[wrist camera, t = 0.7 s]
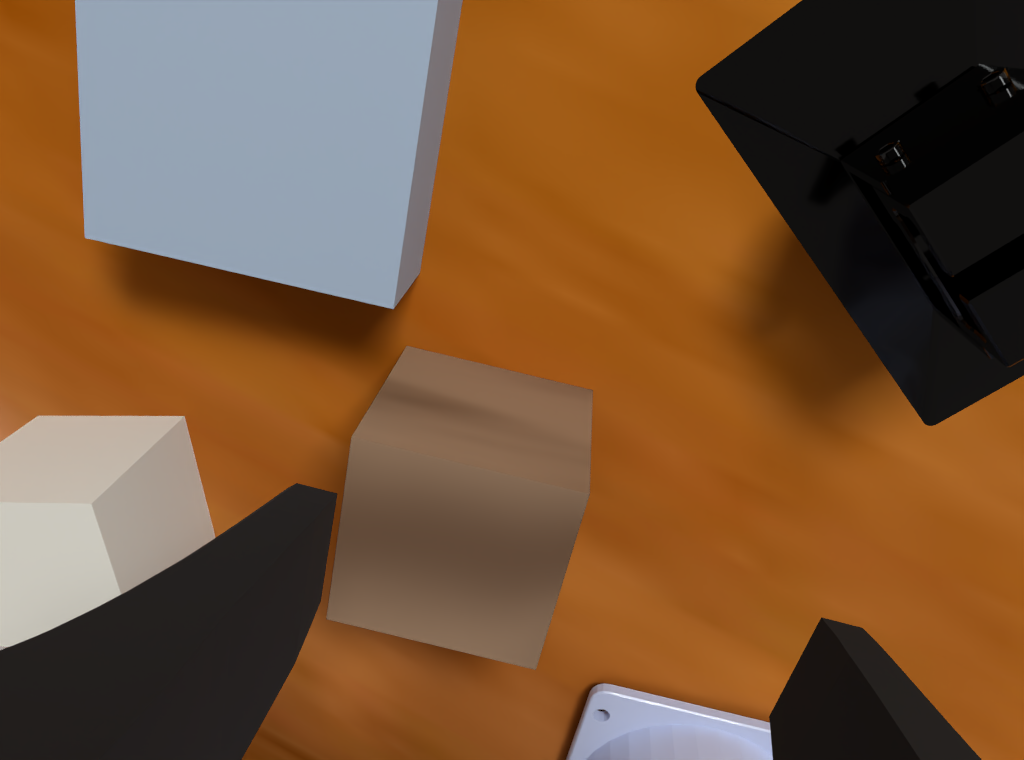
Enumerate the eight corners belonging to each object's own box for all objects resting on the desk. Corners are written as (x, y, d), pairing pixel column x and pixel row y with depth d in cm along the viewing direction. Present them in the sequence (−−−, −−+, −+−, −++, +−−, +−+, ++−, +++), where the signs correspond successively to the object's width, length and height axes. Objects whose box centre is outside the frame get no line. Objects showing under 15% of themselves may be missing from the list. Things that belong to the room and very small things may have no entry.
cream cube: (219, 544, 24) (140, 652, 20) (83, 541, 24) (-21, 645, 20) (186, 414, 22) (91, 503, 18) (39, 414, 23) (-84, 500, 18)
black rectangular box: (633, 54, 17) (643, 62, 13) (968, -221, 15) (1127, -331, 10) (920, 469, 21) (1007, 590, 16) (1234, 305, 18) (1439, 394, 14)
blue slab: (422, 269, 20) (393, 309, 17) (156, 207, 20) (85, 237, 17) (470, -37, 17) (444, -48, 14) (155, -108, 17) (70, -133, 14)
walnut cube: (549, 539, 22) (535, 669, 18) (381, 499, 22) (326, 619, 18) (592, 389, 20) (589, 493, 16) (407, 344, 20) (351, 437, 16)
